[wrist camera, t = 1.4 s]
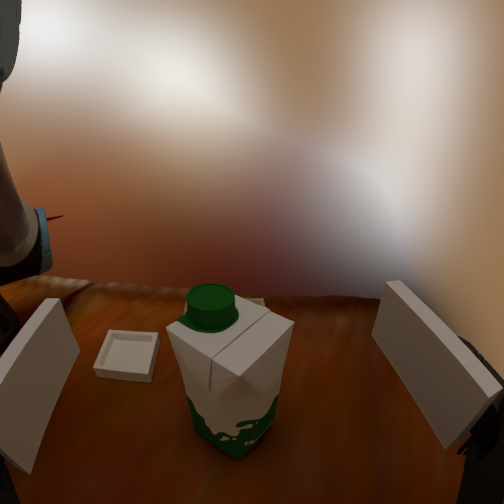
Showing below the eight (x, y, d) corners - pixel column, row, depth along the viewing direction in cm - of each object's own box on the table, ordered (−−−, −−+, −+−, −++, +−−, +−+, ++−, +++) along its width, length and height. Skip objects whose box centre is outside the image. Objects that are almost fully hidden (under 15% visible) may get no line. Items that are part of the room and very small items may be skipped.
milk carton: (228, 391, 36) (224, 266, 27) (282, 423, 31) (309, 300, 22) (183, 430, 29) (150, 307, 21) (241, 471, 25) (242, 366, 16)
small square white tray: (97, 376, 35) (93, 367, 34) (112, 338, 43) (109, 329, 42) (151, 382, 36) (148, 373, 35) (160, 341, 44) (158, 332, 43)
